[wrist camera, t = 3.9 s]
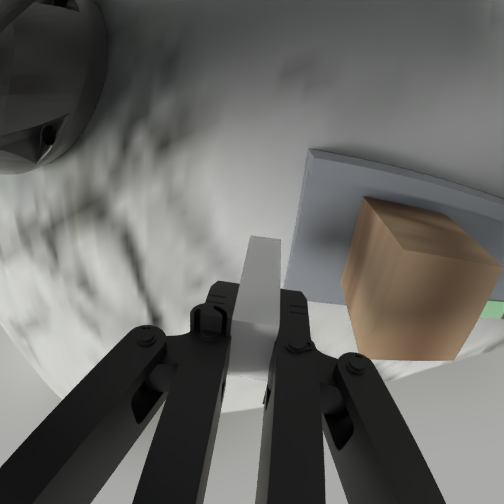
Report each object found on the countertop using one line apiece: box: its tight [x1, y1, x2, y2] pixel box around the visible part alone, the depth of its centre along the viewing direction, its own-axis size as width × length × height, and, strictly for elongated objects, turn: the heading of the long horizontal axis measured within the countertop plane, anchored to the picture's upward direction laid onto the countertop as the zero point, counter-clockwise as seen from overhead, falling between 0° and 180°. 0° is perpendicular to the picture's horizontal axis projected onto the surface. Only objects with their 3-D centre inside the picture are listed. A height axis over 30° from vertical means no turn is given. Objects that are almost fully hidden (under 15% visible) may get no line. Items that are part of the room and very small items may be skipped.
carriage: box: [340, 196, 503, 361], centre depth 16 cm, size 7×7×7 cm
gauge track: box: [284, 149, 504, 319], centre depth 19 cm, size 26×10×3 cm, turn 84°
